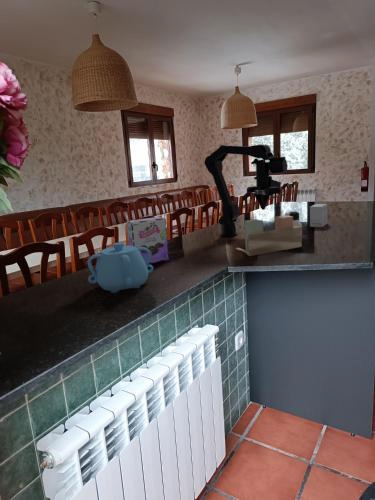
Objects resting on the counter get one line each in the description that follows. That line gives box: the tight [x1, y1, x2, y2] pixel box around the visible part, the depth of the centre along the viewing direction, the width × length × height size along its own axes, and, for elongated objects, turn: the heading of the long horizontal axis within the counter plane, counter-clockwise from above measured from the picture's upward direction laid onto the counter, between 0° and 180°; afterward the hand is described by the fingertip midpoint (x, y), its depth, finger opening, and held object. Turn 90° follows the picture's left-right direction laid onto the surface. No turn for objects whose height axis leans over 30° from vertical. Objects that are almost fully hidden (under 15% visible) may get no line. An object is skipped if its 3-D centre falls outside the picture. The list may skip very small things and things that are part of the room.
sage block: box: [244, 219, 264, 251], centre depth 136 cm, size 5×5×12 cm
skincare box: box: [309, 203, 328, 228], centre depth 180 cm, size 10×6×10 cm, turn 145°
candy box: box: [126, 216, 170, 265], centre depth 131 cm, size 14×6×16 cm, turn 117°
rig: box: [235, 226, 303, 257], centre depth 140 cm, size 12×24×8 cm, turn 112°
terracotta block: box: [274, 214, 293, 230], centre depth 141 cm, size 5×5×12 cm
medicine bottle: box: [284, 210, 303, 228], centre depth 153 cm, size 7×7×12 cm
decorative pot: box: [87, 241, 154, 294], centre depth 106 cm, size 16×16×14 cm
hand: (263, 209), depth 157 cm, fingers closed
